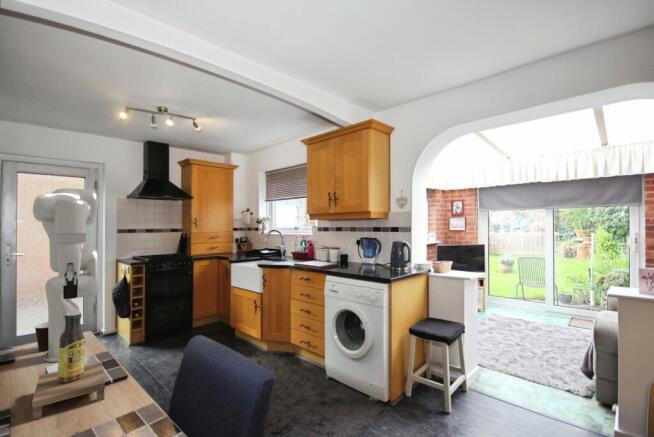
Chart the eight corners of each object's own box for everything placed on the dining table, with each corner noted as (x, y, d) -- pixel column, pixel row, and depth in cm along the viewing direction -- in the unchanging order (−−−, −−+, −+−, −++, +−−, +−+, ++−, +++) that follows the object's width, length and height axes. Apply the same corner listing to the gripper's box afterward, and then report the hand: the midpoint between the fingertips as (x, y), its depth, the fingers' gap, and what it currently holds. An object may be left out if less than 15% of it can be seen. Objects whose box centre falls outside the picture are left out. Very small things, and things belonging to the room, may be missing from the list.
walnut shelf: (39, 391, 100) (39, 375, 100) (101, 375, 109) (101, 361, 109) (32, 420, 85) (32, 401, 85) (104, 399, 95) (104, 382, 95)
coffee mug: (39, 354, 126) (39, 329, 126) (31, 349, 131) (31, 325, 131) (74, 344, 136) (74, 321, 136) (66, 340, 141) (66, 317, 141)
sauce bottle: (69, 385, 94) (69, 318, 94) (52, 382, 95) (52, 316, 95) (89, 374, 100) (90, 311, 100) (73, 372, 101) (74, 310, 101)
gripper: (56, 237, 102) (56, 290, 102) (52, 242, 88) (52, 303, 88) (85, 236, 106) (86, 287, 107) (86, 240, 93) (86, 299, 93)
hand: (70, 294), depth 98 cm, fingers open, 9 cm apart
